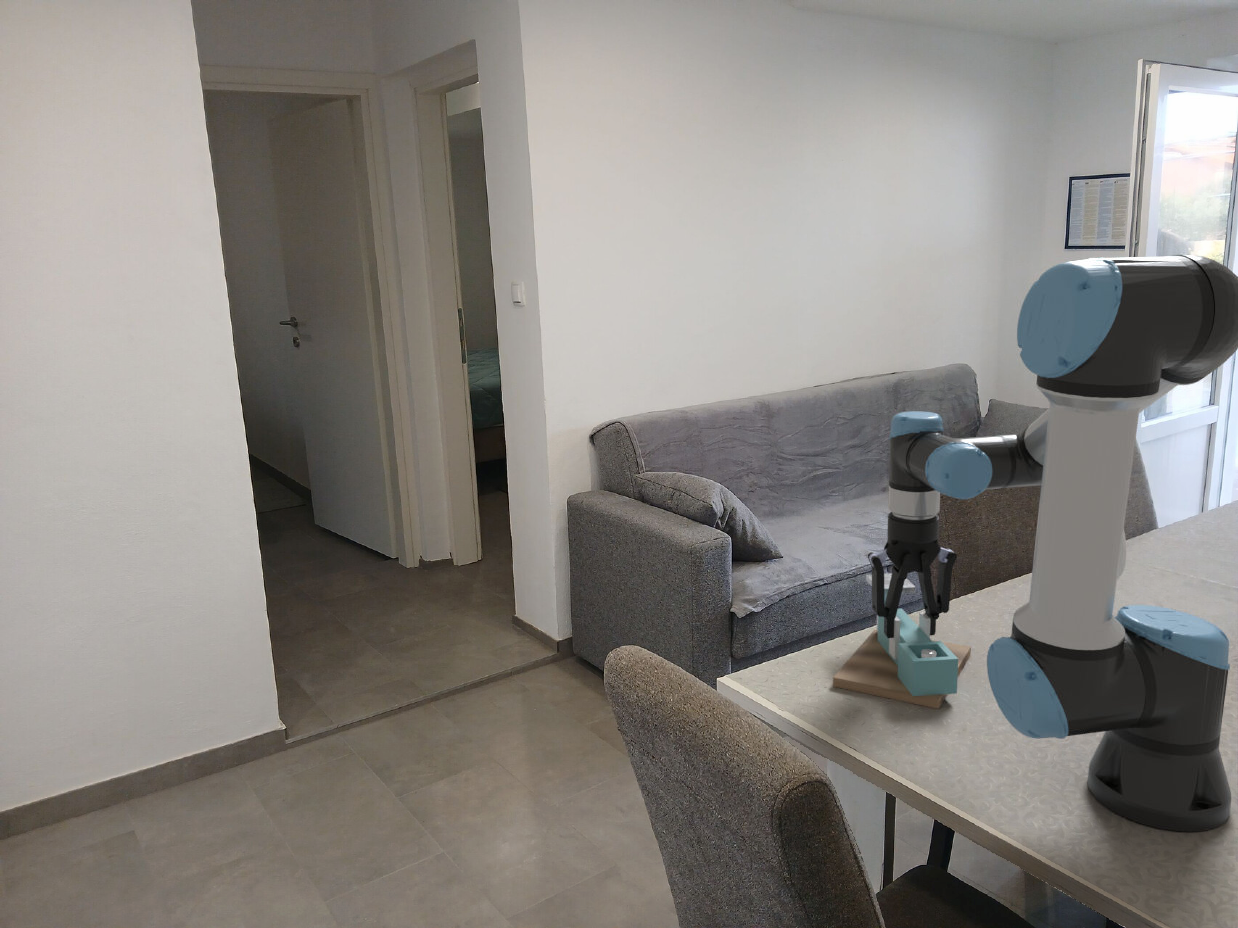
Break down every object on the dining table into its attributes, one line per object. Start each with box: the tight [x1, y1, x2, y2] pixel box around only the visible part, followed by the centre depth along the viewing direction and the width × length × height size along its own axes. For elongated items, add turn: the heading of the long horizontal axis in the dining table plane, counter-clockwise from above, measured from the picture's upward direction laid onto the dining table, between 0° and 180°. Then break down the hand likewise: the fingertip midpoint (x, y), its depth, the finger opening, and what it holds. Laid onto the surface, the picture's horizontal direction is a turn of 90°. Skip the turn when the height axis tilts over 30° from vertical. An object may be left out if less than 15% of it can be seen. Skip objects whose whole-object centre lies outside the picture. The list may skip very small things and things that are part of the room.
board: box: [832, 629, 972, 710], centre depth 153 cm, size 21×16×2 cm
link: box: [878, 608, 959, 696], centre depth 150 cm, size 20×7×6 cm, turn 3°
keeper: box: [865, 572, 917, 633], centre depth 160 cm, size 7×6×12 cm
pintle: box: [921, 649, 937, 658], centre depth 143 cm, size 2×2×7 cm
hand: (908, 654), depth 151 cm, fingers closed on link, 4 cm apart
